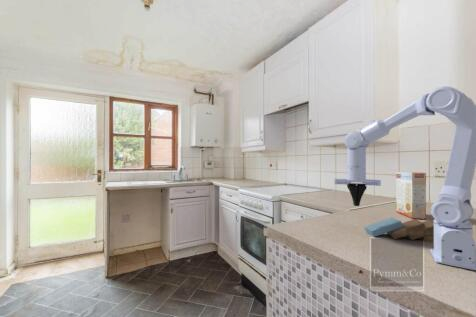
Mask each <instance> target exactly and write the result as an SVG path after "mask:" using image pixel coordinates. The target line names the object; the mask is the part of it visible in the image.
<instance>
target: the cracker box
mask: <svg viewBox="0 0 476 317" xmlns="http://www.w3.org/2000/svg"><path fill="white" fill-rule="evenodd" d="M395 178H396V184H395V185H396V205H395V206H396V207H395V208H396V212H395V213H398V214H400V213H401V215H402V216H405V217H408V218H410V219H412V220H414V219H416V220H426V219H427V172H417V171H396V177H395Z"/></svg>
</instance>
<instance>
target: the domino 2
mask: <svg viewBox="0 0 476 317" xmlns="http://www.w3.org/2000/svg"><path fill="white" fill-rule="evenodd" d="M402 225H403V227H402V228H399V229H396V230H393V231H390V232H387V233H386V234H387V235H388V236H389V237H391V239H393V240H396V239H400V238H403V237H405V236H407V235H410V234H413V233H416V232H420V231H423V230H426V229H427V228H426V226H425V224H424V223H422V221H420V220H419V219H411V220H408V221H405V222H402Z"/></svg>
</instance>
